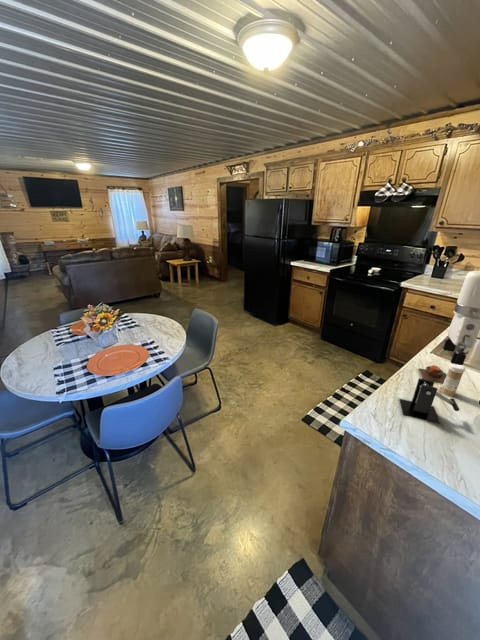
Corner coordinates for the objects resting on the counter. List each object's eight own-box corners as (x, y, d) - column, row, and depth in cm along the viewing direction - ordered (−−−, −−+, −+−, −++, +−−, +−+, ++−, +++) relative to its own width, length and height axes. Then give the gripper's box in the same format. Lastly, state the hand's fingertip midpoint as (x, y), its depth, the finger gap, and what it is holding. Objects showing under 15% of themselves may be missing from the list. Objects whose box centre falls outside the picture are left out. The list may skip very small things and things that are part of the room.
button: (437, 369, 115) (438, 366, 114) (439, 373, 112) (441, 370, 111) (429, 368, 116) (430, 364, 115) (430, 371, 113) (432, 368, 112)
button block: (443, 375, 116) (446, 368, 115) (449, 386, 109) (452, 379, 107) (417, 370, 119) (419, 364, 118) (421, 381, 112) (424, 374, 111)
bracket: (432, 409, 96) (443, 380, 91) (439, 426, 89) (451, 395, 84) (398, 401, 100) (407, 373, 95) (402, 417, 92) (411, 387, 87)
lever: (451, 403, 91) (456, 399, 90) (455, 412, 87) (461, 408, 86) (418, 383, 93) (423, 379, 92) (421, 392, 89) (426, 387, 88)
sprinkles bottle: (446, 390, 106) (457, 361, 101) (457, 397, 102) (468, 368, 97) (436, 391, 106) (447, 363, 100) (447, 398, 101) (458, 369, 96)
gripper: (496, 322, 75) (474, 372, 81) (474, 304, 89) (457, 348, 96) (463, 317, 77) (445, 367, 84) (447, 300, 92) (433, 344, 99)
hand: (452, 356), depth 90 cm, fingers open, 9 cm apart
